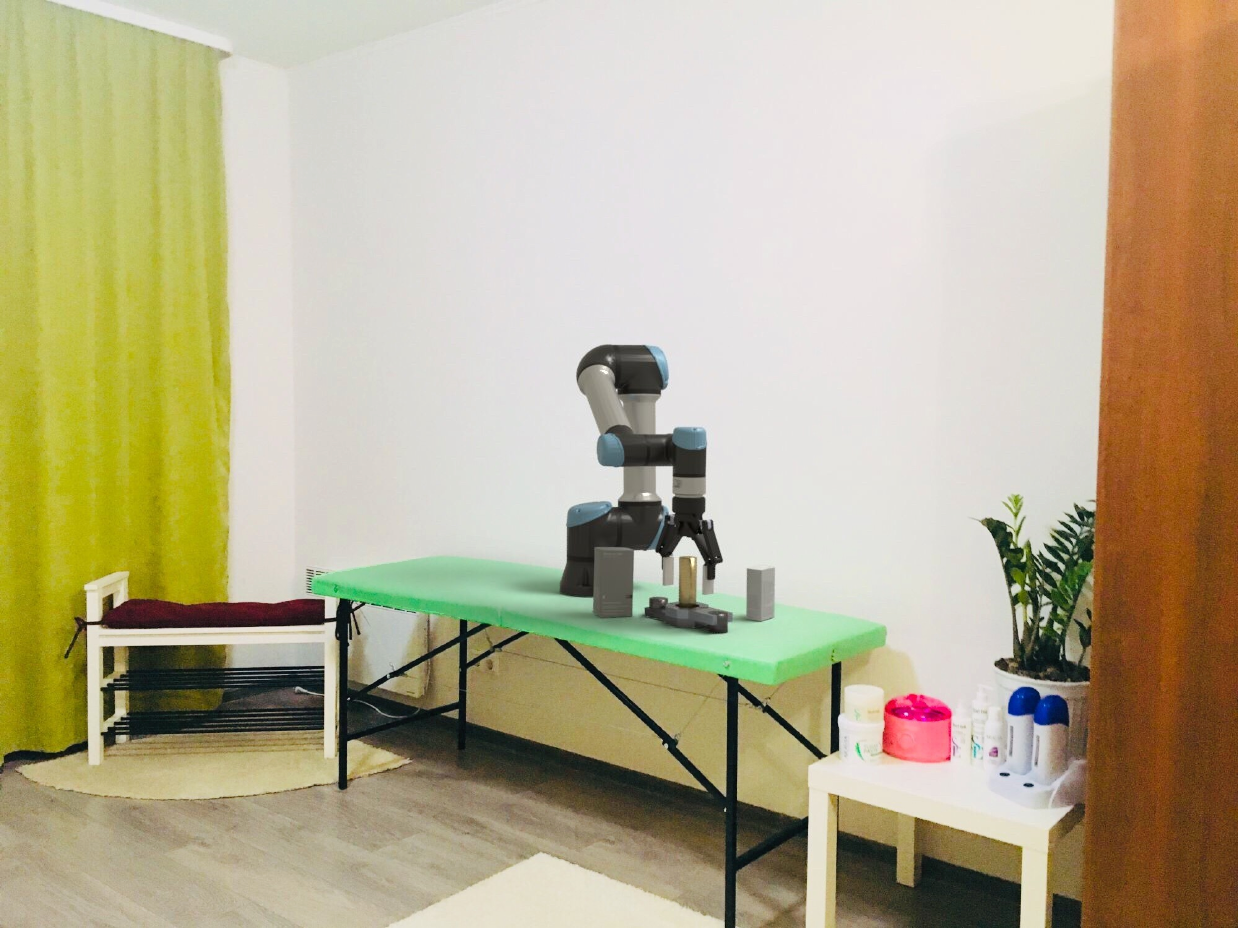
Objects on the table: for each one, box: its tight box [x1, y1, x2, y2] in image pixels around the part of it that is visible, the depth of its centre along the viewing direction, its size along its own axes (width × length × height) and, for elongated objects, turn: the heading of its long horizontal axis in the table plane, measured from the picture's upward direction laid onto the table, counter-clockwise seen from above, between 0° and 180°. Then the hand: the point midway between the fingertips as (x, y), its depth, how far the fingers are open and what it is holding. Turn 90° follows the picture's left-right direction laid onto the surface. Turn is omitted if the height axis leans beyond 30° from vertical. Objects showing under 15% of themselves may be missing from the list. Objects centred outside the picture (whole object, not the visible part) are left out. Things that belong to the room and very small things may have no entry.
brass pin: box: [678, 555, 698, 608], centre depth 231 cm, size 4×4×15 cm
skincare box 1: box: [592, 547, 635, 619], centre depth 239 cm, size 8×7×16 cm
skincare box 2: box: [745, 564, 776, 622], centre depth 237 cm, size 6×4×12 cm
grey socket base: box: [644, 596, 734, 635], centre depth 231 cm, size 24×10×4 cm, turn 38°
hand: (687, 589), depth 231 cm, fingers open, 13 cm apart
